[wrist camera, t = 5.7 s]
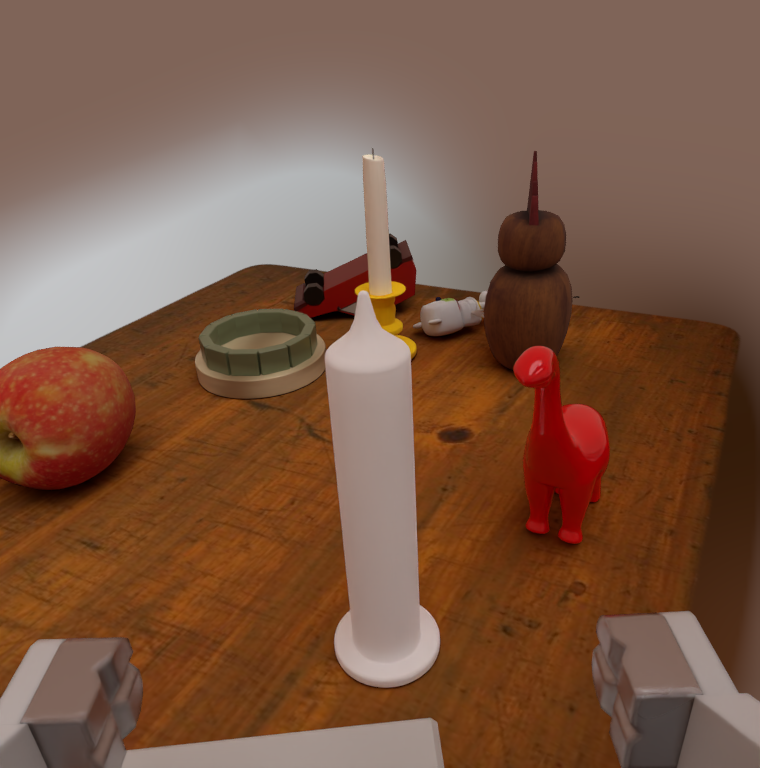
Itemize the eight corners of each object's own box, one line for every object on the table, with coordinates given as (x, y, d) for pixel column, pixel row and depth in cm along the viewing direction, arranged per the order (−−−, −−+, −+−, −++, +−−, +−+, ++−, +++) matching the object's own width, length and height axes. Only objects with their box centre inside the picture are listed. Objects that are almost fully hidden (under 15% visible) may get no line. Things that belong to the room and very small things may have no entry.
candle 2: (313, 653, 28) (262, 300, 20) (378, 589, 31) (353, 261, 23) (398, 709, 25) (375, 329, 18) (460, 632, 28) (461, 281, 21)
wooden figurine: (506, 338, 54) (513, 146, 48) (576, 350, 52) (594, 148, 45) (471, 371, 49) (473, 163, 43) (546, 387, 47) (562, 166, 40)
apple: (-28, 502, 38) (-80, 379, 35) (74, 428, 45) (40, 319, 42) (84, 525, 36) (41, 395, 32) (173, 443, 43) (146, 329, 39)
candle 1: (425, 343, 54) (420, 142, 47) (403, 371, 50) (394, 154, 42) (366, 336, 56) (352, 142, 49) (340, 363, 52) (321, 154, 44)
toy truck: (286, 298, 58) (313, 346, 60) (404, 241, 56) (428, 292, 59) (289, 277, 63) (315, 322, 66) (398, 224, 62) (420, 272, 64)
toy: (591, 264, 55) (428, 299, 51) (598, 301, 56) (436, 339, 51) (548, 273, 62) (400, 305, 57) (555, 307, 62) (407, 341, 58)
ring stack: (336, 341, 56) (332, 304, 54) (314, 399, 47) (309, 357, 45) (221, 342, 57) (214, 306, 55) (179, 399, 48) (169, 358, 47)
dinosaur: (631, 454, 39) (661, 248, 33) (557, 638, 28) (583, 373, 22) (565, 439, 41) (582, 241, 35) (470, 606, 29) (472, 353, 24)
